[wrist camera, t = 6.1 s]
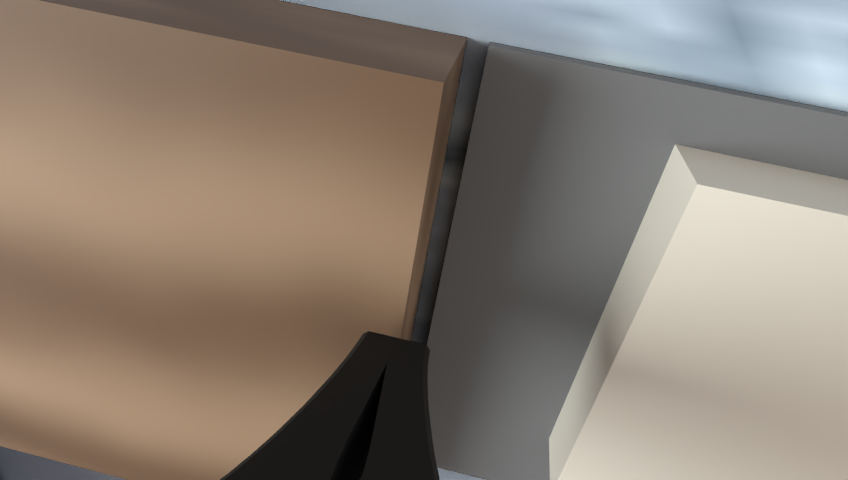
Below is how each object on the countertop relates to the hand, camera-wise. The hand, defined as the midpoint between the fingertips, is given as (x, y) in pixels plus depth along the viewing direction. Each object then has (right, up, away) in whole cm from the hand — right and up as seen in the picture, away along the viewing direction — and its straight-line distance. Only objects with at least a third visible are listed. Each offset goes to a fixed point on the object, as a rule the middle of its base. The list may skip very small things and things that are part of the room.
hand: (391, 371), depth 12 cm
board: (-6, +3, +4) cm, 8 cm away
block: (+8, -1, +1) cm, 8 cm away
